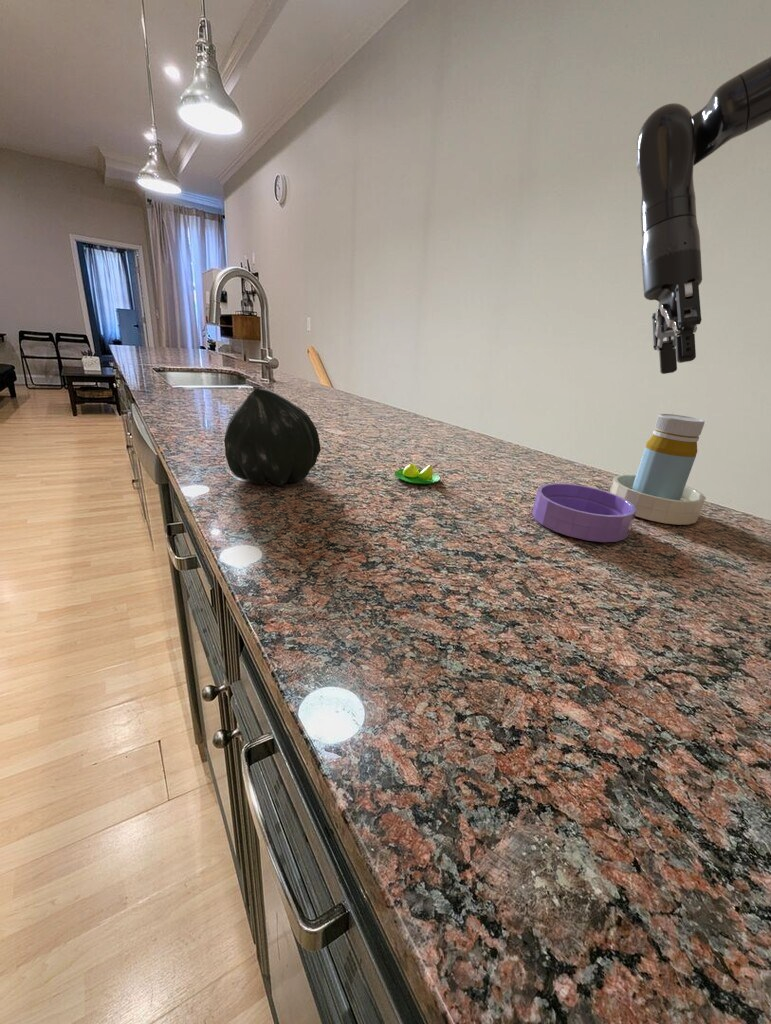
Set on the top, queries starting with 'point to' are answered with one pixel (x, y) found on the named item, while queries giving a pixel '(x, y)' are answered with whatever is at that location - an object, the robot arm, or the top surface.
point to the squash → (270, 440)
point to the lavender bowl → (583, 512)
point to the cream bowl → (660, 503)
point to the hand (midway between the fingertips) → (677, 367)
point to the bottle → (668, 456)
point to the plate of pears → (417, 475)
